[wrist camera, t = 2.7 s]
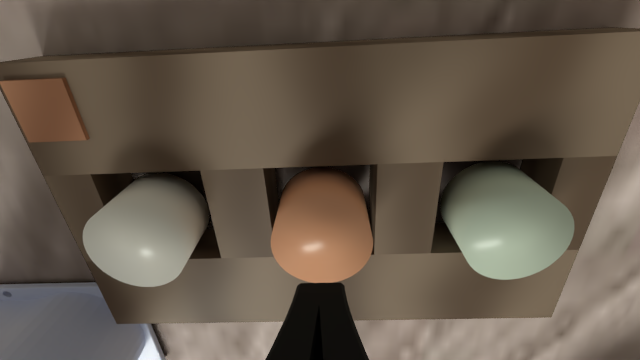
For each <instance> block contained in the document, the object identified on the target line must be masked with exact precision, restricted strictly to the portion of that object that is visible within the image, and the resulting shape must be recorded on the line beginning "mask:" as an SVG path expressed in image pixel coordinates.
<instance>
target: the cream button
mask: <svg viewBox="0 0 640 360" xmlns="http://www.w3.org/2000/svg"><path fill="white" fill-rule="evenodd" d="M208 223H209V208H208V205H207V203H206V201H205V199H204V197H203V196H202V194H201V193H200V192H199V191H198V190H197V189H196V188H195V187H194V186H193V185H192V184H190V183H189V182H187V181H186V180H184V179H182V178H180V177H177V176H175V175H171V174H167V173H149V174H145V175H143V176H140V177H139V178H137V179H136V180H134V181H133V182H132V183H131V184H130V185H128V186H127V187H126V188H125V189H124V190H123V191H121V192H120V193H119V194H118V195H117V196H116V197H114V198H113V199H112V200H111V201H110V202H109V203H107V204H106V205H105V206H104V207H103V208H102V209H100V210H99V211H98V212H97V213H96V214H94V215H93V216H92V217H91V218H90V219H89V220H88V221H87V223H86V225H85V227H84V230H83V244H84V247H85V250H86V252H87V254H88V255H89V257H90V258H91V260H92V261H93V262H94V263H95V264H96V266H97V267H99V268H100V269H101V270H102V271H103V272H105V273H106V274H108V275H109V276H111V277H113V278H115V279H117V280H119V281H121V282H124V283H127V284H130V285H134V286H140V287H156V286H161V285H164V284H167V283H169V282H171V281H173V280H174V279H175V278H177V277H178V276H179V274H180V273H181V272H182V270H183V268H184V266H185V265H186V263H187V261H188V259H189V258H190V256H191V254H192V252H193V251H194V249H195V247H196V245H197V244H198V242H199V240H200V238H201V237H202V235H203V233H204V231H205V230H206V228H207V226H208Z"/></svg>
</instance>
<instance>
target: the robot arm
mask: <svg viewBox="0 0 640 360" xmlns="http://www.w3.org/2000/svg"><path fill="white" fill-rule="evenodd" d="M0 360H166V359H165V356H164V354H163V352H162V349H161V347H160V345H159V342H158V340H157V337H156V335H155V333H154V330H153V328H152V326H151V324H117V323H116V321H115V319H114V317H113V315H112V313H111V311H110V309H109V307H108V305H107V303H106V301H105V299H104V297H103V295H102V293H101V291H100V289H99V287H98V285H97V283H96V282H90V283H42V284H0ZM265 360H369V359H368V356H367V354H366V352H365V349H364V347H363V344H362V342H361V339H360V337H359V334H358V332H357V329H356V327H355V324H354V321H353V318H352V315H351V312H350V308H349V305H348V301H347V297H346V293H345V286H344V285H343V284H342V283H341V282H336V283H300V284H299V285H298V286H297V288H296V291H295V294H294V297H293V300H292V303H291V306H290V308H289V311H288V313H287V315H286V318H285V320H284V322H283V325H282V327H281V329H280V331H279V333H278V335H277V337H276V340H275V342H274V344H273V346H272V348H271V350H270V352H269V354H268V356H267V358H266V359H265Z"/></svg>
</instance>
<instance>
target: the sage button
mask: <svg viewBox="0 0 640 360" xmlns="http://www.w3.org/2000/svg"><path fill="white" fill-rule="evenodd" d="M440 212H441V216H442V218H443V220H444V222H445V223H446V225H447V227H448V229H449V230H450V232H451V234H452V236H453V237H454V239H455V241H456V243H457V244H458V246H459V248H460V250H461V251H462V253H463V255H464V257H465V258H466V260H467V262H468V263H469V265H470V266H471V267H472V268H473V269H474V270H475V271H476V272H478V273H479V274H481V275H483V276H486V277H489V278H493V279H499V280H510V279H518V278H523V277H527V276H530V275H533V274H535V273H537V272H540V271H541V270H543V269H545V268H547V267H548V266H550V265H551V264H553V263H554V262H555V261H556V260H557V259H558V258H559V257H560V256H562V254H563V253H564V252H565V251H566V249H567V248H568V246H569V245H570V242H571V240H572V238H573V234H574V220H573V216H572V214H571V212H570V211H569V210H568V208H567V207H566V206H565V205H564V204H562V203H561V202H560V201H559V200H557V199H556V198H555V197H554V196H552V195H551V194H550V193H549V192H547V191H546V190H545V189H544V188H542V187H541V186H540V185H539V184H537V183H536V182H535V181H534V180H532V179H531V178H530V177H529V176H527V175H526V174H525V173H524V172H522V171H521V170H520V169H519V168H517V167H516V166H514V165H512V164H509V163H506V162H501V161H486V162H481V163H478V164H474V165H472V166H470V167H468V168H466V169H464V170H462V171H461V172H459V173H458V174H457V175H456V176H455V177H453V178H452V180H451V181H450V182H449V183H448V184H447V186H446V187H445V189H444V191H443V193H442V196H441V200H440Z"/></svg>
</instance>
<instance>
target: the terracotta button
mask: <svg viewBox="0 0 640 360" xmlns="http://www.w3.org/2000/svg"><path fill="white" fill-rule="evenodd" d="M271 249H272V253H273V256H274V258H275V259H276V261H277V263H278V264H279V265H280V266H281V267H282V268H283V269H284V270H285V271H286V272H288V273H289V274H290V275H292V276H294V277H296V278H298V279H301V280H303V281H307V282H311V283H333V282H338V281H342V280H344V279H347V278H349V277H351V276H353V275H354V274H356V273H357V272H359V271H360V270H361V269H362V268H363V267H364V266H365V264H366V263H367V262H368V260H369V258H370V256H371V253H372V249H373V237H372V232H371V228H370V223H369V218H368V213H367V208H366V203H365V198H364V194H363V191H362V189H361V187H360V185H359V184H358V183H357V182H356V180H354V179H353V178H352V177H351V176H350V175H348V174H347V173H345V172H343V171H341V170H338V169H335V168H330V167H315V168H310V169H307V170H304V171H302V172H300V173H298V174H297V175H295V176H294V177H293V178H292V179H290V181H289V182H288V183H287V184H286V186H285V188H284V190H283V192H282V195H281V199H280V203H279V207H278V211H277V215H276V219H275V223H274V227H273V231H272V235H271Z"/></svg>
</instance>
